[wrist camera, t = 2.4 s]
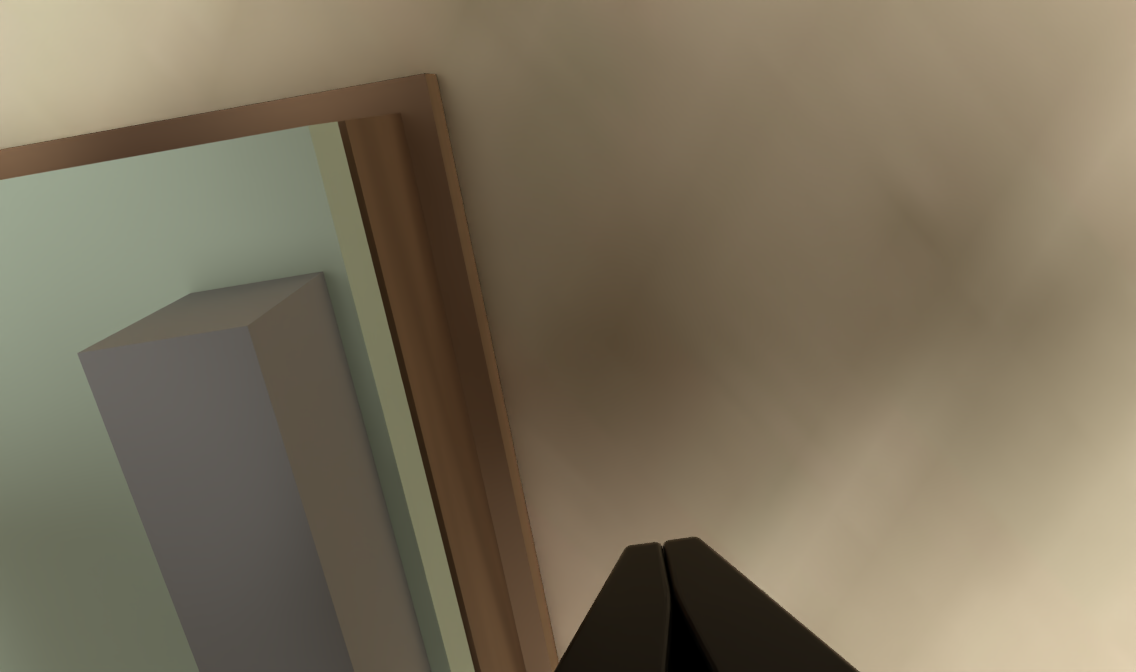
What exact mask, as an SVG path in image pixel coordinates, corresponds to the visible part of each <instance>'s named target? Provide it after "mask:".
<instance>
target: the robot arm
mask: <svg viewBox="0 0 1136 672" xmlns="http://www.w3.org/2000/svg"><path fill="white" fill-rule="evenodd" d="M554 672H859V671H858V670H857V669H856V668H854V667H853V666H852V665H851V664H850V663H848V662H847V661H846V660H845V659H844V658H842V657H841V656H840V655H839V654H838V653H836V652H835V651H834V650H833V649H832V648H830V647H829V646H828V645H827V644H826V643H824V642H823V641H822V640H821V639H820V638H819V637H817V636H816V635H815V634H814V633H813V632H811V631H810V630H809V629H808V628H807V627H805V626H804V625H803V624H802V623H801V622H799V621H798V620H797V619H796V618H795V617H793V616H792V615H791V614H790V613H789V612H787V611H786V610H785V609H784V608H783V607H781V606H780V605H779V604H778V603H777V602H775V601H774V600H773V599H772V598H771V597H769V596H768V595H767V594H766V593H765V592H763V591H762V590H761V589H760V588H759V587H757V586H756V585H755V584H754V583H753V582H751V581H750V580H749V579H748V578H747V577H745V576H744V575H743V574H742V573H741V572H739V571H738V570H737V569H736V568H735V567H734V566H732V565H731V564H730V563H729V562H728V561H726V560H725V559H724V558H723V557H722V556H720V555H719V554H718V553H717V552H716V551H714V550H713V549H712V548H711V547H710V546H708V545H707V544H706V543H705V542H704V541H702V540H701V539H700V538H698V537H688V538H681V539H674V540H668V541H666V542H665V543H664V545H663V548H662V545H661V544H660V543H657V542H652V543H644V544H637V545H630V546H628V547H626V548H625V549H624V551H623V553H622V555H621V556H620V558H619V560H618V561H617V563H616V565H615V567H614V568H613V570H612V572H611V574H610V575H609V577H608V579H607V581H606V582H605V584H604V586H603V587H602V589H601V591H600V593H599V594H598V596H597V598H596V600H595V601H594V603H593V605H592V607H591V608H590V610H589V612H588V613H587V615H586V617H585V619H584V620H583V622H582V624H581V626H580V627H579V629H578V631H577V632H576V634H575V636H574V638H573V639H572V641H571V643H570V645H569V646H568V648H567V650H566V652H565V653H564V655H563V657H562V658H561V660H560V662H559V664H558V665H557V667H556V669H555V671H554Z"/></svg>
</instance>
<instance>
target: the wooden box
mask: <svg viewBox="0 0 1136 672" xmlns="http://www.w3.org/2000/svg"><path fill="white" fill-rule="evenodd" d="M330 122H338V126H339V130H340V134H341V138H342V142H343V146H344V150H345V154H346V158H347V162H348V166H349V170H350V174H351V178H352V182H353V186H354V190H355V194H356V198H357V202H358V206H359V210H360V214H361V218H362V222H363V226H364V230H365V234H366V238H367V242H368V246H369V250H370V254H371V258H372V262H373V266H374V270H375V274H376V278H377V282H378V286H379V290H380V294H381V298H382V302H383V306H384V310H385V314H386V318H387V322H388V326H389V330H390V334H391V338H392V342H393V346H394V350H395V354H396V358H397V362H398V366H399V370H400V374H401V378H402V382H403V386H404V390H405V394H406V398H407V402H408V406H409V410H410V414H411V418H412V422H413V426H414V430H415V434H416V438H417V442H418V446H419V450H420V454H421V458H422V462H423V466H424V470H425V474H426V478H427V482H428V486H429V490H430V494H431V498H432V502H433V506H434V510H435V514H436V518H437V522H438V526H439V530H440V534H441V538H442V542H443V546H444V550H445V554H446V558H447V562H448V566H449V570H450V574H451V578H452V582H453V586H454V590H455V594H456V598H457V602H458V606H459V610H460V614H461V618H462V622H463V626H464V630H465V634H466V638H467V642H468V646H469V650H470V654H471V658H472V662H473V666H474V670H475V672H554V671H555V669H556V667H557V665H558V664H559V662H558V657H557V652H556V647H555V642H554V638H553V633H552V628H551V623H550V618H549V614H548V609H547V604H546V599H545V594H544V590H543V585H542V580H541V575H540V570H539V566H538V561H537V556H536V551H535V546H534V542H533V537H532V532H531V527H530V522H529V518H528V513H527V508H526V503H525V498H524V494H523V489H522V484H521V479H520V474H519V470H518V465H517V460H516V455H515V451H514V446H513V441H512V436H511V431H510V427H509V422H508V417H507V412H506V407H505V403H504V398H503V393H502V388H501V383H500V379H499V374H498V369H497V364H496V359H495V355H494V350H493V345H492V340H491V335H490V331H489V326H488V321H487V316H486V311H485V307H484V302H483V297H482V292H481V287H480V283H479V278H478V273H477V268H476V263H475V259H474V254H473V249H472V244H471V239H470V235H469V230H468V225H467V220H466V215H465V211H464V206H463V201H462V196H461V191H460V187H459V182H458V177H457V172H456V167H455V163H454V158H453V153H452V148H451V143H450V139H449V134H448V129H447V124H446V119H445V115H444V110H443V105H442V100H441V95H440V91H439V86H438V81H437V76H436V74H426V73H424V74H419V75H413V76H408V77H402V78H396V79H391V80H385V81H380V82H374V83H369V84H363V85H357V86H352V87H346V88H341V89H335V90H330V91H324V92H318V93H313V94H307V95H302V96H296V97H291V98H285V99H279V100H274V101H268V102H263V103H257V104H252V105H246V106H240V107H235V108H229V109H224V110H218V111H213V112H207V113H201V114H196V115H190V116H185V117H179V118H174V119H168V120H162V121H157V122H151V123H146V124H140V125H135V126H129V127H123V128H118V129H112V130H107V131H101V132H96V133H90V134H84V135H79V136H73V137H68V138H62V139H57V140H51V141H45V142H40V143H34V144H29V145H23V146H18V147H12V148H6V149H1V150H0V180H4V179H9V178H15V177H21V176H26V175H32V174H37V173H43V172H49V171H54V170H60V169H66V168H71V167H77V166H83V165H88V164H94V163H100V162H105V161H111V160H117V159H122V158H128V157H134V156H139V155H145V154H151V153H156V152H162V151H168V150H173V149H179V148H184V147H190V146H196V145H201V144H207V143H213V142H218V141H224V140H230V139H235V138H241V137H247V136H252V135H258V134H264V133H269V132H275V131H281V130H286V129H292V128H298V127H303V126H309V125H316V124H323V123H330Z"/></svg>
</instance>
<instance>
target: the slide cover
mask: <svg viewBox="0 0 1136 672" xmlns="http://www.w3.org/2000/svg"><path fill="white" fill-rule="evenodd" d="M0 672H475V670H474V666H473V662H472V658H471V654H470V650H469V646H468V642H467V638H466V634H465V630H464V626H463V622H462V618H461V614H460V610H459V606H458V602H457V598H456V594H455V590H454V586H453V582H452V578H451V574H450V570H449V566H448V562H447V558H446V554H445V550H444V546H443V542H442V538H441V534H440V530H439V526H438V522H437V518H436V514H435V510H434V506H433V502H432V498H431V494H430V490H429V486H428V482H427V478H426V474H425V470H424V466H423V462H422V458H421V454H420V450H419V446H418V442H417V438H416V434H415V430H414V426H413V422H412V418H411V414H410V410H409V406H408V402H407V398H406V394H405V390H404V386H403V382H402V378H401V374H400V370H399V366H398V362H397V358H396V354H395V350H394V346H393V342H392V338H391V334H390V330H389V326H388V322H387V318H386V314H385V310H384V306H383V302H382V298H381V294H380V290H379V286H378V282H377V278H376V274H375V270H374V266H373V262H372V258H371V254H370V250H369V246H368V242H367V238H366V234H365V230H364V226H363V222H362V218H361V214H360V210H359V206H358V202H357V198H356V194H355V190H354V186H353V182H352V178H351V174H350V170H349V166H348V162H347V158H346V154H345V150H344V146H343V142H342V138H341V134H340V130H339V126H338V122H330V123H323V124H316V125H309V126H303V127H298V128H292V129H286V130H281V131H275V132H269V133H264V134H258V135H252V136H247V137H241V138H235V139H230V140H224V141H218V142H213V143H207V144H201V145H196V146H190V147H184V148H179V149H173V150H168V151H162V152H156V153H151V154H145V155H139V156H134V157H128V158H122V159H117V160H111V161H105V162H100V163H94V164H88V165H83V166H77V167H71V168H66V169H60V170H54V171H49V172H43V173H37V174H32V175H26V176H21V177H15V178H9V179H4V180H0Z"/></svg>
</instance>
